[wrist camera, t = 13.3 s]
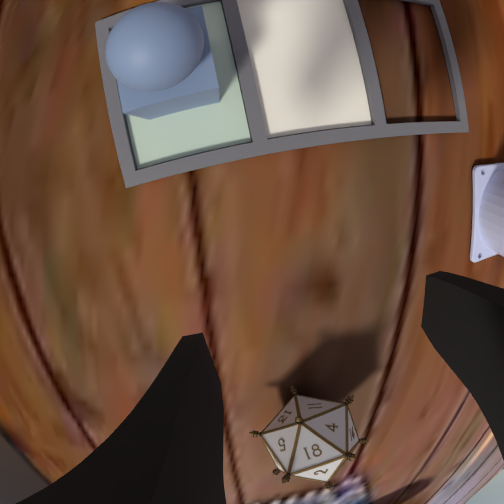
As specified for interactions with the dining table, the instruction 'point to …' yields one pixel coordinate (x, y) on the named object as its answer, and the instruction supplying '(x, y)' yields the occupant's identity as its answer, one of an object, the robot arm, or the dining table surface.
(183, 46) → the pawn
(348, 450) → the game die
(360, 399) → the dining table surface
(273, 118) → the game board
